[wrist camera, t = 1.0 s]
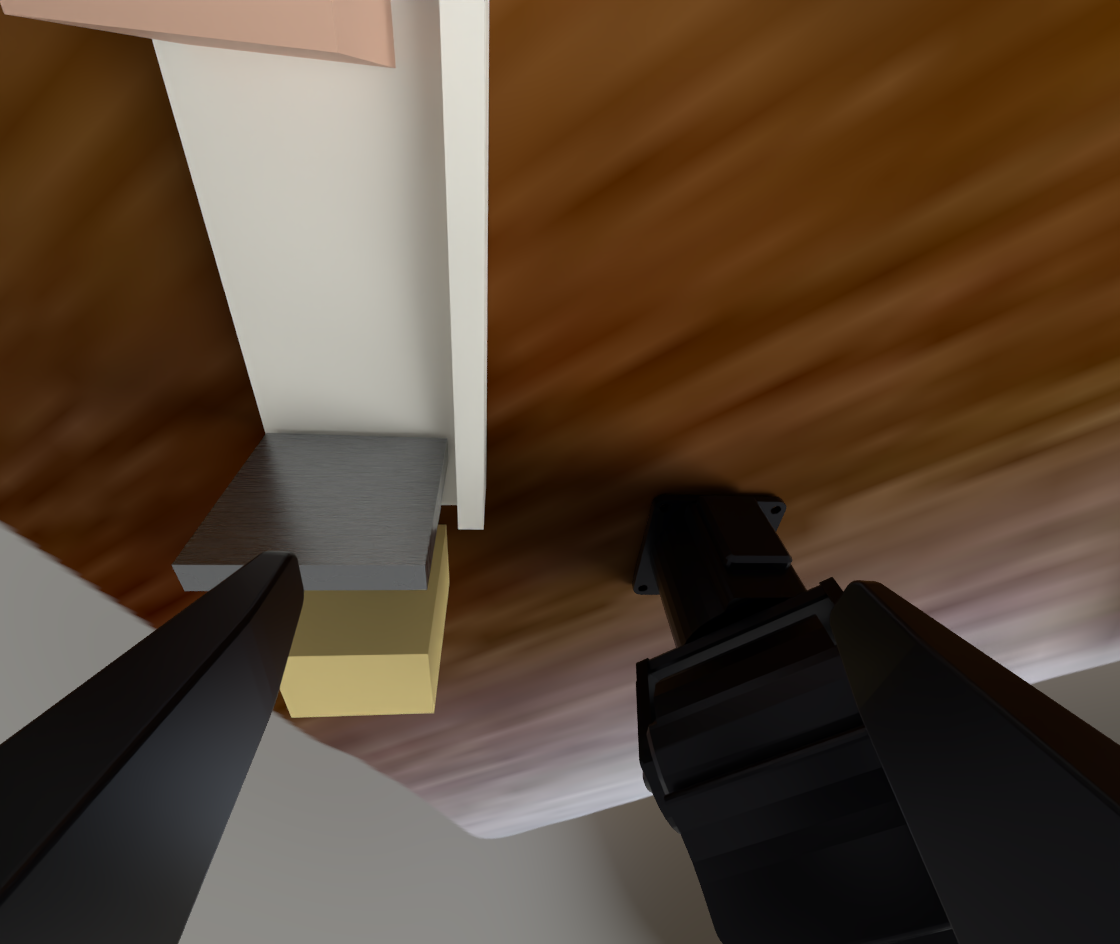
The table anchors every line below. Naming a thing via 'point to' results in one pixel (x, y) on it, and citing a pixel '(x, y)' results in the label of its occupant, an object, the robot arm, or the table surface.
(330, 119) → the shelf
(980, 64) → the table surface
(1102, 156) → the table surface
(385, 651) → the ochre book
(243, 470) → the bookend
